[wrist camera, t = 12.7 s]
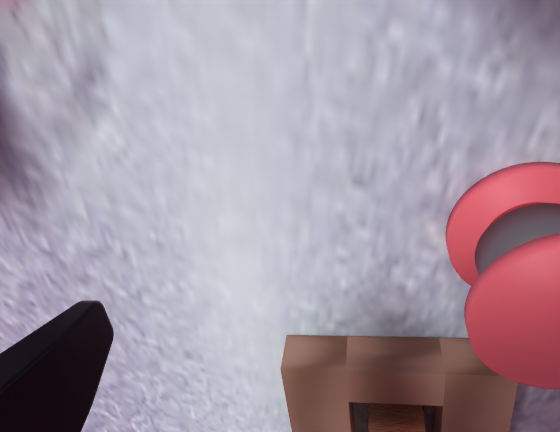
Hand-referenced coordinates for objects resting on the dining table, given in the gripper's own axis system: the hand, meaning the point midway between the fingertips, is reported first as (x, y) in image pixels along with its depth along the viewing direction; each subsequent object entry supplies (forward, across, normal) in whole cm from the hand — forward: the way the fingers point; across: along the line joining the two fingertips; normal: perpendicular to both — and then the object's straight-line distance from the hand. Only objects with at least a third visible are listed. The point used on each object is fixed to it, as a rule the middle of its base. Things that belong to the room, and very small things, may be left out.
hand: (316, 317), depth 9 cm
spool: (+13, -8, +7) cm, 17 cm away
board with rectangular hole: (+13, -2, +20) cm, 24 cm away
